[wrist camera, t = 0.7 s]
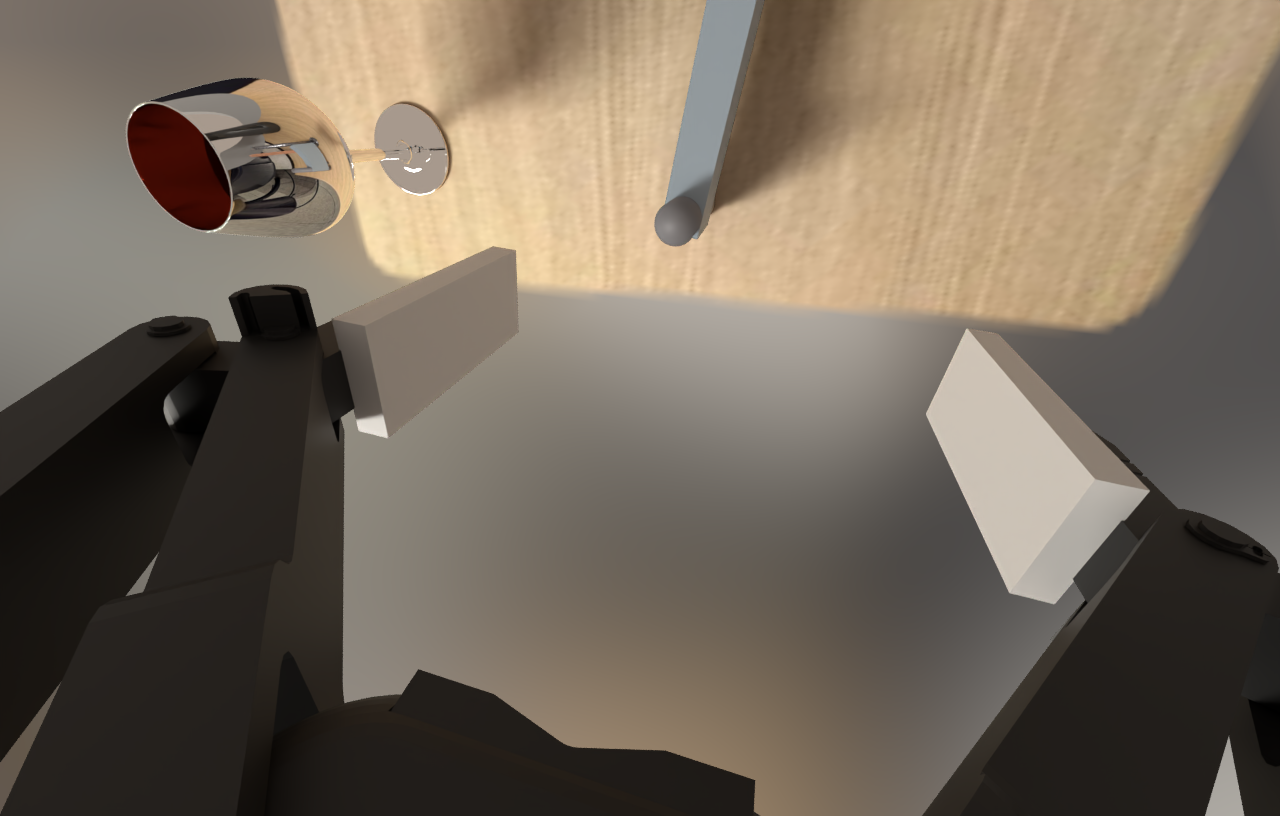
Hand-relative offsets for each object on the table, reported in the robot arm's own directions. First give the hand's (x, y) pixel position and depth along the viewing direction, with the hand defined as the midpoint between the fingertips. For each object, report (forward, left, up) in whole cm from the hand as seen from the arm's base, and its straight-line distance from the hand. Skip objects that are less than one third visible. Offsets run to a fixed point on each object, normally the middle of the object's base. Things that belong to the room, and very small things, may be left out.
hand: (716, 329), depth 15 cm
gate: (-6, -4, -24) cm, 25 cm away
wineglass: (+2, -27, -24) cm, 36 cm away
